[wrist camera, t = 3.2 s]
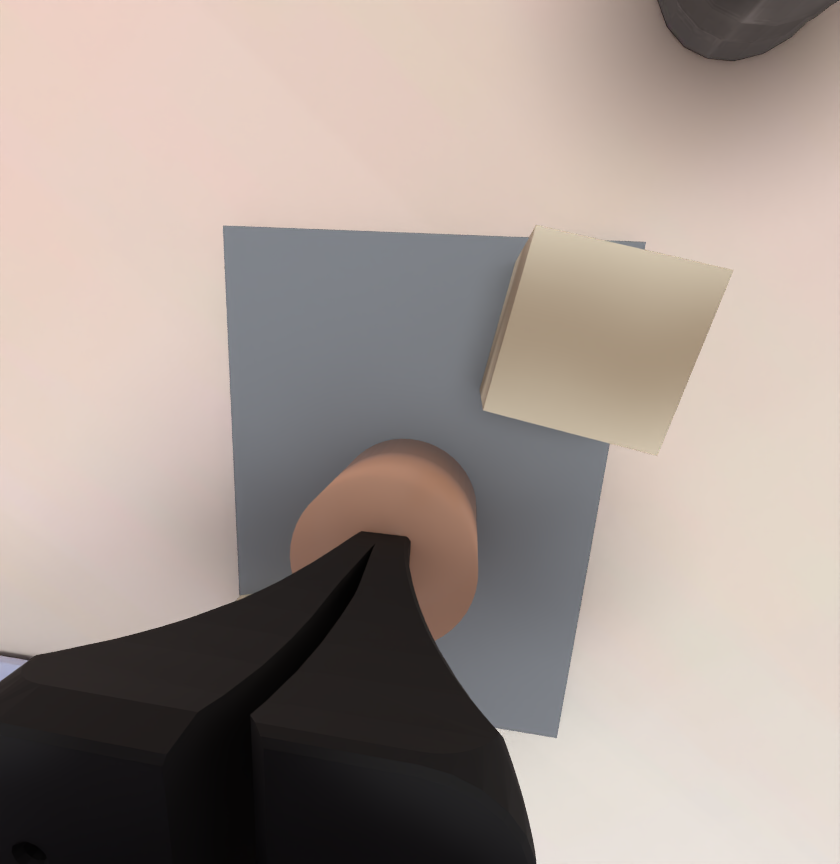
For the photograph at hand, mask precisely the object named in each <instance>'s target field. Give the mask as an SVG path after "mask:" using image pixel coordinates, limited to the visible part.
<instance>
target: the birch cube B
mask: <svg viewBox="0 0 840 864" xmlns="http://www.w3.org/2000/svg"><path fill="white" fill-rule="evenodd" d="M732 273H733V270H731V269H727V268H722V267H718V266H714V265H709V264H705V263H701V262H696V261H692V260H687V259H683V258H679V257H674V256H670V255H666V254H661V253H657V252H653V251H648V250H644V249H639V248H635V247H631V246H626V245H622V244H618V243H613V242H609V241H604V240H600V239H596V238H591V237H587V236H583V235H578V234H574V233H570V232H565V231H561V230H556V229H552V228H548V227H543V226H539V225H536V226H535V228H534V230H533V232H532V233H531V235H530V237H529V239H528V240H527V242H526V244H525V246H524V248H523V249H522V251H521V253H520V255H519V256H518V258H517V260H516V262H515V265H514V269H513V272H512V276H511V280H510V283H509V287H508V290H507V294H506V297H505V301H504V304H503V308H502V312H501V315H500V319H499V322H498V326H497V329H496V333H495V336H494V340H493V344H492V347H491V351H490V354H489V358H488V361H487V365H486V368H485V372H484V376H483V379H482V383H481V386H480V395H481V401H482V407H483V411H487V412H491V413H495V414H499V415H502V416H506V417H510V418H514V419H518V420H522V421H525V422H529V423H533V424H537V425H541V426H545V427H548V428H552V429H556V430H560V431H564V432H568V433H571V434H575V435H579V436H583V437H587V438H591V439H594V440H598V441H602V442H606V443H610V444H613V445H617V446H621V447H625V448H629V449H633V450H636V451H640V452H644V453H648V454H652V455H656V456H657V455H658V453H659V450H660V448H661V445H662V443H663V441H664V438H665V436H666V433H667V431H668V428H669V426H670V424H671V421H672V419H673V416H674V414H675V411H676V409H677V407H678V404H679V402H680V399H681V397H682V394H683V392H684V389H685V387H686V385H687V382H688V380H689V377H690V375H691V372H692V370H693V368H694V365H695V363H696V360H697V358H698V355H699V353H700V351H701V348H702V346H703V343H704V341H705V338H706V336H707V334H708V331H709V329H710V326H711V324H712V321H713V319H714V316H715V314H716V312H717V309H718V307H719V304H720V302H721V299H722V297H723V295H724V292H725V290H726V287H727V285H728V282H729V280H730V278H731V275H732Z"/></svg>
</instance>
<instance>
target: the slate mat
mask: <svg viewBox="0 0 840 864" xmlns="http://www.w3.org/2000/svg"><path fill="white" fill-rule="evenodd" d="M223 238H224V260H225V282H226V305H227V327H228V349H229V371H230V394H231V416H232V438H233V460H234V482H235V505H236V527H237V549H238V571H239V593H240V595H247V594H253V593H255V592H258V591H260V590H262V589H264V588H266V587H268V586H270V585H272V584H274V583H276V582H278V581H280V580H282V579H284V578H286V577H287V576H289V575H291V574H292V570H291V563H290V546H291V540H292V535H293V532H294V529H295V527H296V524H297V522H298V520H299V518H300V516H301V515H302V513H303V512H304V510H305V509H306V508H307V506H308V505H309V504H310V503H311V502H312V501H313V500H314V499H315V498H316V497H317V496H318V495H319V494H320V493H321V492H322V491H323V490H324V489H325V488H326V487H327V486H328V485H329V484H330V483H331V482H332V481H333V480H334V479H335V478H336V477H337V476H338V475H339V474H340V473H341V472H342V471H343V470H344V469H345V468H346V467H347V466H348V465H349V464H350V463H351V462H352V461H353V460H354V459H355V458H356V457H357V456H358V455H359V454H361V453H362V452H363V451H365V450H366V449H368V448H370V447H371V446H373V445H375V444H378V443H381V442H384V441H388V440H393V439H413V440H419V441H423V442H426V443H429V444H432V445H434V446H436V447H438V448H440V449H442V450H443V451H445V452H446V453H448V454H449V455H450V456H452V457H453V458H454V459H455V460H456V461H457V462H458V463H459V464H460V465H461V467H462V468H463V469H464V471H465V472H466V474H467V475H468V477H469V479H470V481H471V484H472V486H473V489H474V492H475V497H476V505H477V542H478V582H477V587H476V592H475V595H474V598H473V601H472V603H471V605H470V607H469V609H468V611H467V613H466V614H465V615H464V617H463V618H462V619H461V621H460V622H459V623H458V624H457V625H456V626H455V627H454V628H453V629H452V630H451V631H449V632H448V633H447V634H445V635H444V636H442V637H441V638H439V639H437V640H435V642H436V645H437V646H438V648H439V650H440V652H441V653H442V655H443V657H444V658H445V660H446V662H447V663H448V665H449V667H450V668H451V670H452V672H453V673H454V675H455V677H456V678H457V680H458V681H459V683H460V684H461V685H462V687H463V688H464V690H465V691H466V692H467V694H468V695H469V697H470V698H471V699H472V701H473V702H474V703H475V705H476V706H477V707H478V708H479V710H480V711H481V712H482V713H483V715H484V716H485V717H486V718H487V719H488V720H489V722H490V723H491V724H492V725H493V726H494V727H495V728H500V729H506V730H512V731H518V732H524V733H530V734H536V735H542V736H548V737H554V738H557V734H558V728H559V722H560V717H561V711H562V706H563V700H564V695H565V689H566V684H567V678H568V672H569V667H570V661H571V656H572V650H573V645H574V639H575V633H576V628H577V622H578V617H579V611H580V606H581V600H582V594H583V589H584V583H585V578H586V572H587V567H588V561H589V556H590V550H591V544H592V539H593V533H594V528H595V522H596V517H597V511H598V505H599V500H600V494H601V489H602V483H603V478H604V472H605V467H606V461H607V455H608V450H609V444H610V443H606V442H602V441H598V440H594V439H591V438H587V437H583V436H579V435H575V434H571V433H568V432H564V431H560V430H556V429H552V428H548V427H545V426H541V425H537V424H533V423H529V422H525V421H522V420H518V419H514V418H510V417H506V416H502V415H499V414H495V413H491V412H487V411H483V407H482V401H481V395H480V386H481V383H482V379H483V376H484V372H485V368H486V365H487V361H488V358H489V354H490V351H491V347H492V344H493V340H494V336H495V333H496V329H497V326H498V322H499V319H500V315H501V312H502V308H503V304H504V301H505V297H506V294H507V290H508V287H509V283H510V280H511V276H512V272H513V269H514V265H515V262H516V260H517V258H518V256H519V255H520V253H521V251H522V249H523V248H524V246H525V244H526V242H527V240H528V239H529V237H503V236H478V235H452V234H426V233H400V232H375V231H349V230H323V229H297V228H271V227H246V226H223ZM604 241H606V240H604ZM609 242H613V243H618V244H622V245H626V246H631V247H635V248H639V249H644V250H645V244H646V242H632V241H609Z"/></svg>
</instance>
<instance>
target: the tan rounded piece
mask: <svg viewBox="0 0 840 864" xmlns="http://www.w3.org/2000/svg"><path fill="white" fill-rule="evenodd" d="M361 531H365V532H373V533H382V534H390V535H398V536H406V537H408V538H409V540H410V541H411V547H410V563H409V567H410V572H411V577H412V582H413V586H414V590H415V593H416V596H417V600H418V603H419V606H420V608H421V611H422V614H423V616H424V619H425V621H426V623H427V626H428V628H429V630H430V632H431V634H432V636H433V638H434V640H437V639H439V638H441V637H442V636H444V635H445V634H447V633H448V632H449V631H451V630H452V629H453V628H454V627H455V626H456V625H457V624H458V623H459V622H460V621H461V619H462V618H463V617H464V615H465V614H466V613H467V611H468V609H469V607H470V605H471V603H472V601H473V598H474V595H475V592H476V587H477V582H478V542H477V505H476V497H475V492H474V489H473V486H472V484H471V481H470V479H469V477H468V475H467V474H466V472H465V471H464V469H463V468H462V467H461V465H460V464H459V463H458V462H457V461H456V460H455V459H454V458H453V457H452V456H450V455H449V454H448V453H446V452H445V451H443V450H442V449H440V448H438V447H436V446H434V445H432V444H429V443H426V442H423V441H419V440H413V439H393V440H388V441H384V442H381V443H378V444H375V445H373V446H371V447H370V448H368V449H366V450H365V451H363V452H362V453H361V454H359V455H358V456H357V457H356V458H355V459H354V460H353V461H352V462H351V463H350V464H349V465H348V466H347V467H346V468H345V469H344V470H343V471H342V472H341V473H340V474H339V475H338V476H337V477H336V478H335V479H334V480H333V481H332V482H331V483H330V484H329V485H328V486H327V487H326V488H325V489H324V490H323V491H322V492H321V493H320V494H319V495H318V496H317V497H316V498H315V499H314V500H313V501H312V502H311V503H310V504H309V505H308V506H307V508H306V509H305V510H304V512H303V513H302V515H301V516H300V518H299V520H298V522H297V524H296V527H295V529H294V532H293V535H292V540H291V546H290V563H291V570H292V574H293V573H294V572H296V571H298V570H300V569H302V568H303V567H305V566H307V565H309V564H310V563H312V562H314V561H315V560H317V559H318V558H320V557H322V556H323V555H325V554H326V553H328V552H329V551H331V550H333V549H334V548H336V547H337V546H339V545H340V544H342V543H343V542H345V541H346V540H348V539H349V538H351V537H352V536H354V535H355V534H357V533H359V532H361Z"/></svg>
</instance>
